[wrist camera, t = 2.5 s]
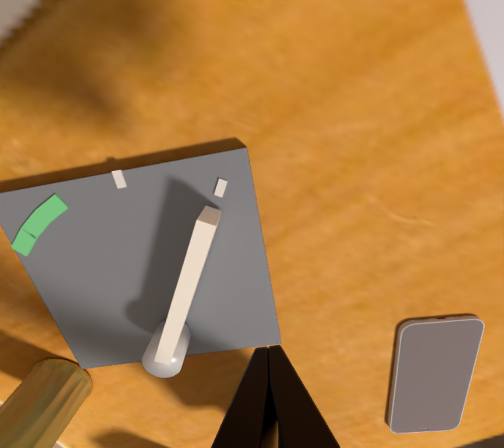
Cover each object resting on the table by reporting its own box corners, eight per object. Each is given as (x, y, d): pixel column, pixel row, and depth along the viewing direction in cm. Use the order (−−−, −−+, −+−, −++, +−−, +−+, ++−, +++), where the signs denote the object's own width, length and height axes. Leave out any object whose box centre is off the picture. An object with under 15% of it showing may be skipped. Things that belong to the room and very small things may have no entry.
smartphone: (487, 317, 22) (458, 430, 27) (479, 310, 23) (452, 420, 28) (401, 324, 22) (388, 434, 27) (395, 317, 23) (384, 425, 28)
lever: (186, 350, 22) (176, 381, 20) (153, 340, 22) (138, 371, 19) (234, 215, 18) (230, 230, 15) (193, 201, 18) (181, 214, 15)
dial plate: (280, 334, 23) (281, 344, 22) (88, 360, 25) (80, 370, 24) (246, 145, 17) (246, 146, 16) (-4, 191, 19) (-19, 195, 18)
